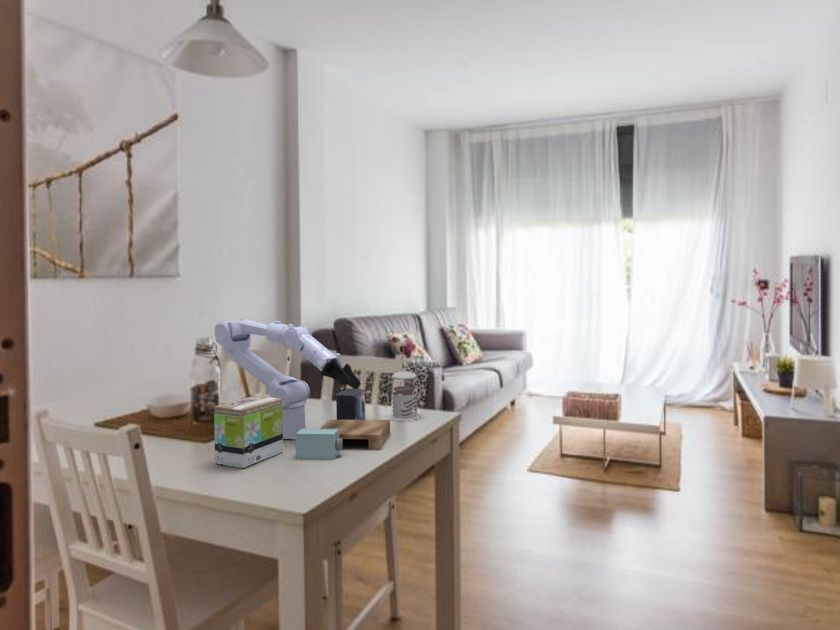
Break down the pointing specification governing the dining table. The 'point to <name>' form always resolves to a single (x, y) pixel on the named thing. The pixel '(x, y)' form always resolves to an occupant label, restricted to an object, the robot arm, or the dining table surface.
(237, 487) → the dining table surface
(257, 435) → the tea box
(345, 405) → the small box
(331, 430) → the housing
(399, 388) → the french press
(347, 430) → the stand
